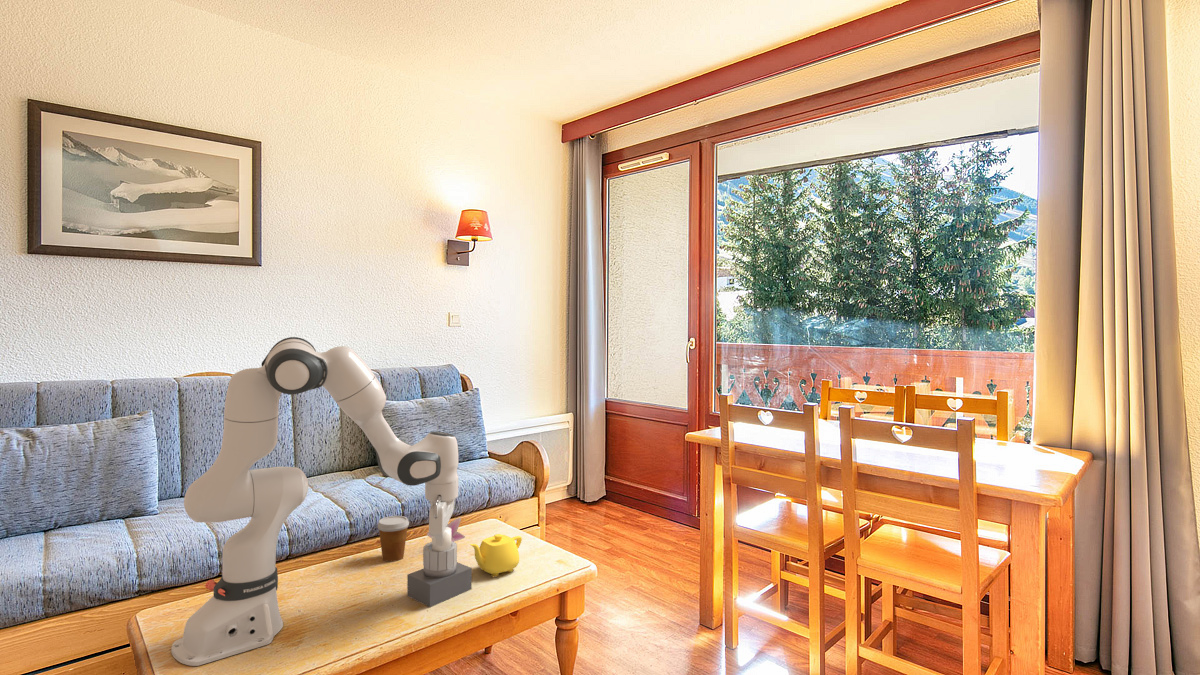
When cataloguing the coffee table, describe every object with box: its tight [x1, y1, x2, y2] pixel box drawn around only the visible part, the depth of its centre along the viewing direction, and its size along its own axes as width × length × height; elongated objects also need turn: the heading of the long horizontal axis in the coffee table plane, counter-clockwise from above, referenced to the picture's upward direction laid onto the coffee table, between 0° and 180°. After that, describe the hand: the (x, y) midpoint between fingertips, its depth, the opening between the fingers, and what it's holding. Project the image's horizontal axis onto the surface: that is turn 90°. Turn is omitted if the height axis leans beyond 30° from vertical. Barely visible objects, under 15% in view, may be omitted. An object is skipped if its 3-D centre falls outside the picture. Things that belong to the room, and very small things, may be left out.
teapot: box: [469, 533, 523, 577], centre depth 184 cm, size 18×11×11 cm, turn 131°
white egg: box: [431, 527, 451, 552], centre depth 167 cm, size 5×5×5 cm
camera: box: [406, 541, 473, 608], centre depth 169 cm, size 14×10×13 cm
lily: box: [426, 517, 466, 542], centre depth 201 cm, size 12×12×10 cm
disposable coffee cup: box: [376, 515, 410, 563], centre depth 192 cm, size 10×10×12 cm
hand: (441, 540), depth 167 cm, fingers open, 5 cm apart
